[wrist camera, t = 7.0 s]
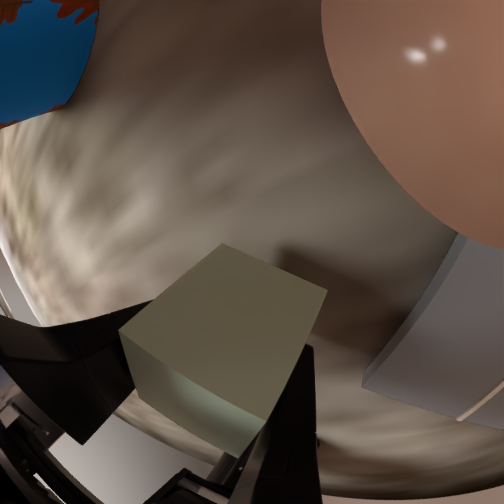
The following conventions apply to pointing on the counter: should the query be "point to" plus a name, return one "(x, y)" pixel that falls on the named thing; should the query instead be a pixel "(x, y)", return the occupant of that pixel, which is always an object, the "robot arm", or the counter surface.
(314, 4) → the counter surface
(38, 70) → the thermos
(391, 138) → the glossy pink ovoid
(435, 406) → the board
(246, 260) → the pale green block
